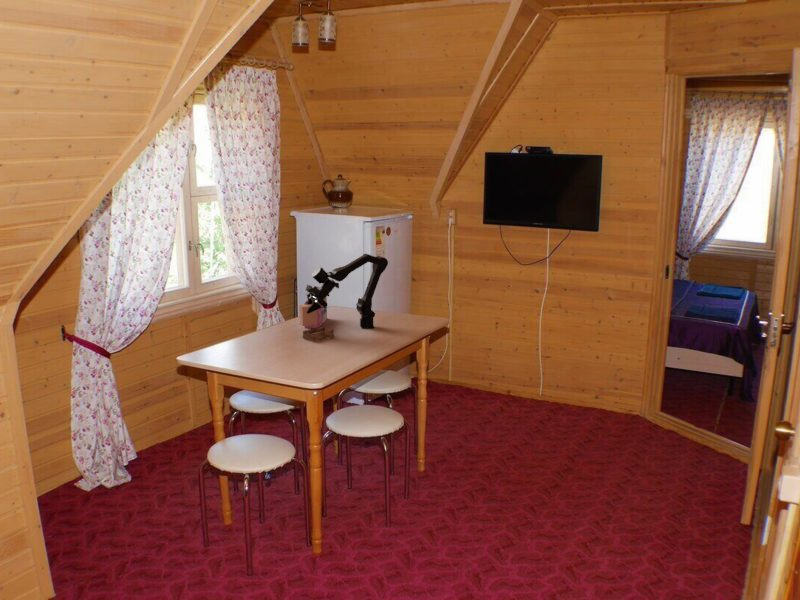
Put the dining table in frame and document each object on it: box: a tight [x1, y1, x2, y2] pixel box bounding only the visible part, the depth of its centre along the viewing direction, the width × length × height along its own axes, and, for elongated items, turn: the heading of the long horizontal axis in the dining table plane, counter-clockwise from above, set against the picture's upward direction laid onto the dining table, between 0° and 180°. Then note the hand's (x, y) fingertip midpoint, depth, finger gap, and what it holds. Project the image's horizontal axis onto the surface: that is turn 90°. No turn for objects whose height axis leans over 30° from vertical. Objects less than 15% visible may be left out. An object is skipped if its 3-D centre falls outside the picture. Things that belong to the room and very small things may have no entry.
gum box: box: [303, 296, 328, 329], centre depth 403 cm, size 24×8×14 cm, turn 174°
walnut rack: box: [302, 326, 335, 343], centre depth 374 cm, size 13×9×4 cm
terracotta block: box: [298, 304, 317, 327], centre depth 380 cm, size 8×4×10 cm, turn 116°
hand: (305, 312), depth 380 cm, fingers closed on terracotta block, 4 cm apart
